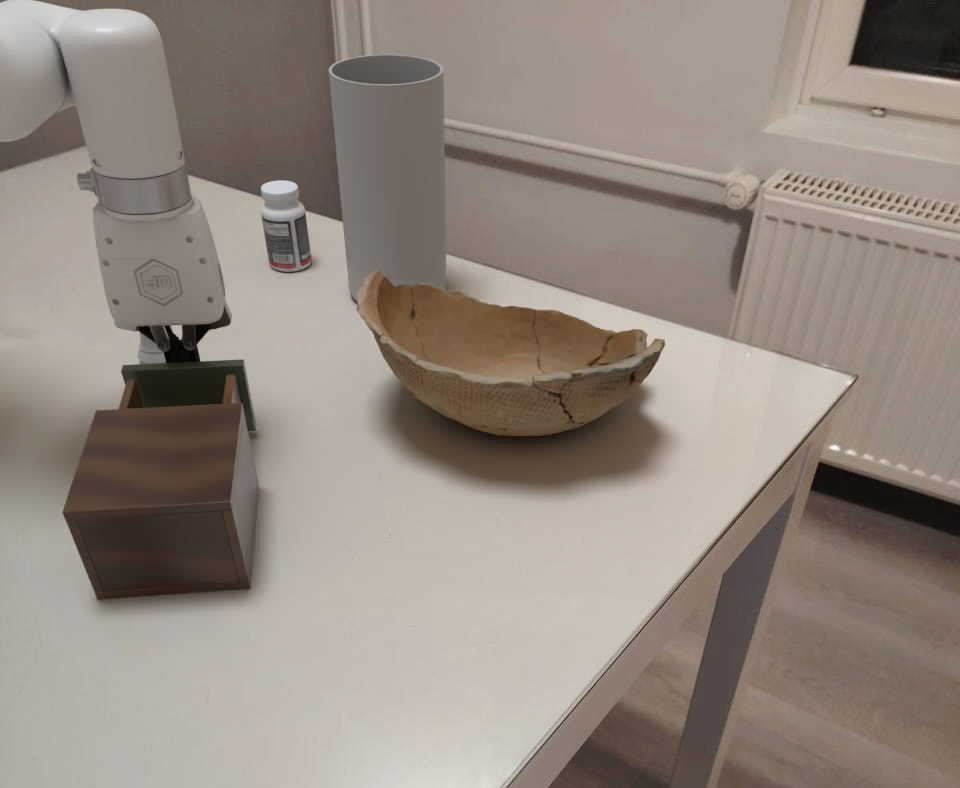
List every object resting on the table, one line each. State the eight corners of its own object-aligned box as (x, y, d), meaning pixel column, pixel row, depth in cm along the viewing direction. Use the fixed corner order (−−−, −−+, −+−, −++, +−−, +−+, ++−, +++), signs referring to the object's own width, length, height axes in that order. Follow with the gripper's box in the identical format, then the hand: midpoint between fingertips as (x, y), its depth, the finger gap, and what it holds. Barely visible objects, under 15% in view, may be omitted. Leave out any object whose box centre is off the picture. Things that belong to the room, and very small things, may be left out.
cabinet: (123, 494, 85) (95, 410, 78) (258, 486, 86) (242, 402, 80) (96, 599, 75) (61, 512, 68) (250, 588, 76) (230, 501, 69)
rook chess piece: (188, 362, 103) (172, 294, 97) (159, 378, 100) (140, 309, 94) (161, 351, 104) (143, 283, 98) (131, 367, 102) (111, 298, 96)
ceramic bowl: (638, 330, 105) (656, 207, 93) (657, 500, 90) (681, 381, 78) (384, 330, 106) (368, 209, 94) (361, 499, 91) (338, 381, 79)
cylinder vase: (337, 309, 112) (313, 81, 94) (364, 268, 121) (346, 51, 103) (435, 319, 111) (429, 88, 93) (455, 276, 119) (453, 58, 101)
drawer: (148, 406, 94) (130, 341, 89) (258, 400, 95) (246, 336, 90) (121, 512, 82) (98, 443, 76) (248, 504, 83) (234, 436, 77)
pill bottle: (299, 252, 124) (289, 175, 117) (319, 266, 121) (310, 188, 114) (261, 262, 122) (249, 184, 115) (281, 276, 119) (269, 198, 111)
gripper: (43, 205, 73) (104, 404, 86) (230, 202, 75) (262, 398, 88) (62, 172, 78) (116, 365, 91) (236, 171, 80) (265, 360, 93)
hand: (187, 381), depth 90 cm, fingers closed
